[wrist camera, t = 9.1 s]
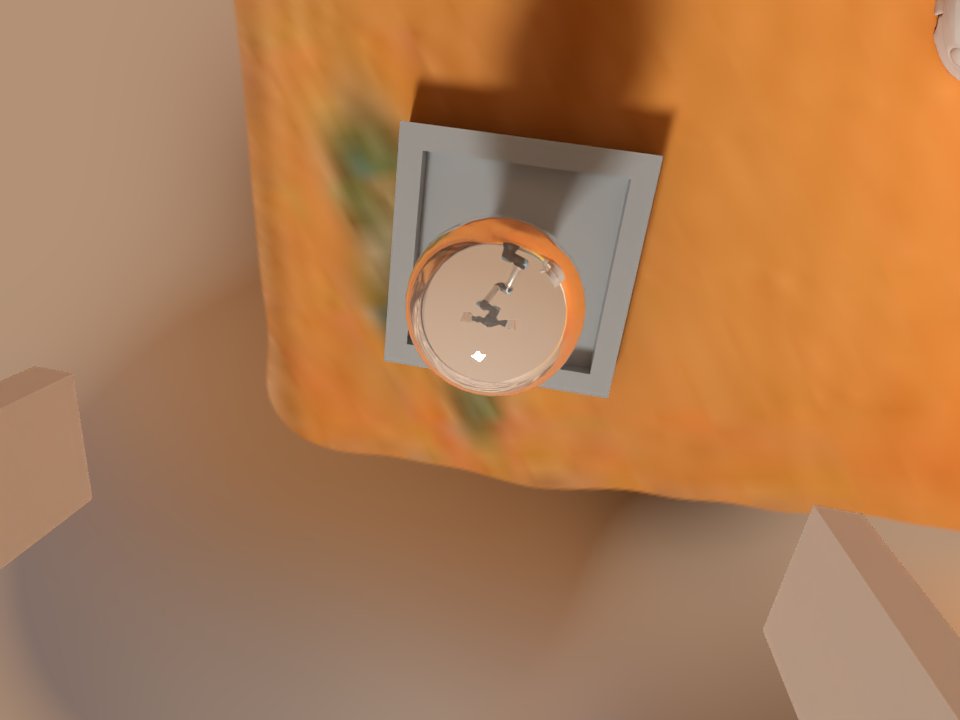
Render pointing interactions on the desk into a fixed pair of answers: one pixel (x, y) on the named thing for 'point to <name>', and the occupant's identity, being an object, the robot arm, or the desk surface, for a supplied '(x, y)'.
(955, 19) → the mug
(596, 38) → the desk surface
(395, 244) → the dish
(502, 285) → the light bulb
